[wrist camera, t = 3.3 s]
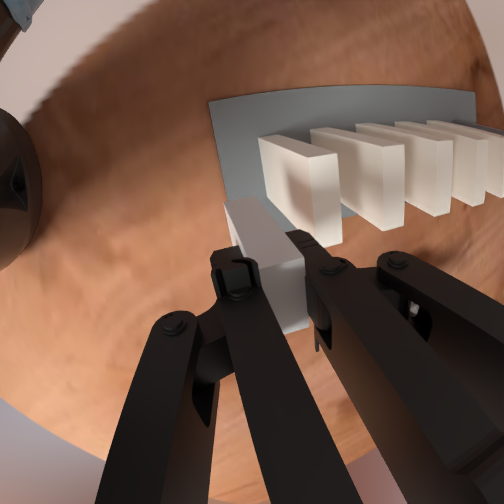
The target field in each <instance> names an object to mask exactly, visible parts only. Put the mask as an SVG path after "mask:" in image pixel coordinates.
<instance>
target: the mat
mask: <svg viewBox="0 0 504 504" xmlns="http://www.w3.org/2000/svg"><path fill="white" fill-rule="evenodd" d="M208 105H209V110H210V115H211V120H212V125H213V131H214V136H215V141H216V146H217V151H218V156H219V161H220V166H221V171H222V176H223V181H224V186H225V191H226V196H227V201H232V200H236V199H240V198H245V197H249V196H255V197H256V198H257V200H258V201H259V202H260V203H261V204H262V206H263V207H264V208H265V209H266V210H267V212H268V213H269V214H270V215H271V217H272V218H273V219H274V220H275V222H276V223H277V224H278V225H279V226H280V228H281V229H282V230H283V231H284V232H287V231H291V230H295V229H297V228H296V227H295V226H294V225H293V224H292V223H291V222H290V221H289V220H288V219H287V217H286V216H285V215H284V214H283V213H282V212H281V211H280V210H279V209H278V208H277V207H276V206H275V205H274V204H273V203H272V202H271V201H270V199H269V198H268V197H267V192H266V186H265V180H264V173H263V167H262V161H261V155H260V148H259V142H258V138H259V137H264V136H270V135H276V134H278V135H282V136H285V137H288V138H292V139H295V140H298V141H302V142H305V143H308V144H311V136H310V129H316V128H324V127H329V128H335V129H340V130H345V131H350V132H355V133H356V125H355V124H360V123H375V124H381V125H387V126H392V127H395V122H400V121H409V122H415V123H420V124H425V125H427V121H426V120H438V121H443V122H449V123H453V120H463V121H468V122H472V123H476V101H475V92H470V91H462V90H454V89H444V88H433V87H419V86H398V85H349V86H327V87H312V88H300V89H290V90H281V91H273V92H265V93H258V94H251V95H244V96H238V97H232V98H227V99H221V100H216V101H211V102H208ZM311 145H312V144H311ZM404 203H408V202H406V201H404ZM353 215H358V214H357V213H356V212H354V211H353V210H351V209H350V208H348V207H347V206H345V205H344V204H342V203H341V218H345V217H349V216H353Z"/></svg>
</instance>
